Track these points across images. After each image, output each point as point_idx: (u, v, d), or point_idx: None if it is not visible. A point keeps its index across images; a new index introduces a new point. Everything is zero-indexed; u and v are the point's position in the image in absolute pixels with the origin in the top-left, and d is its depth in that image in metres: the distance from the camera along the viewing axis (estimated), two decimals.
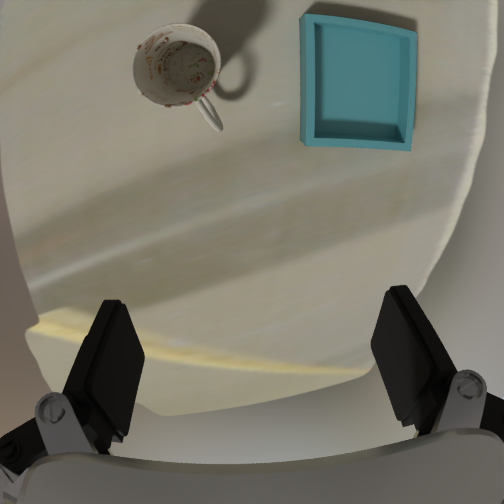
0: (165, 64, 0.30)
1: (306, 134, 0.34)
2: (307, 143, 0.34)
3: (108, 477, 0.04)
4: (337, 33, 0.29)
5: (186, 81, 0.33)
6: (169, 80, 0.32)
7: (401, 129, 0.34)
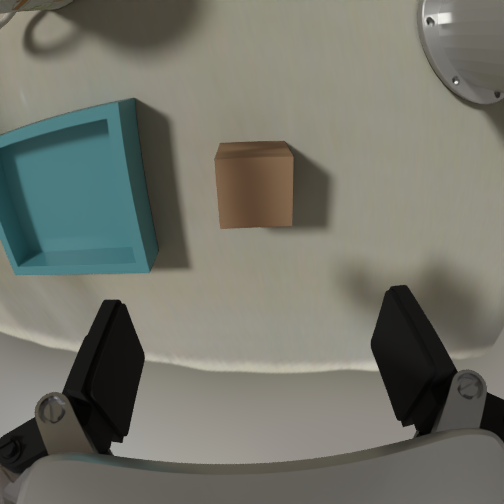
0: None
1: None
2: None
3: (108, 477, 0.04)
4: None
5: None
6: None
7: (33, 259, 0.26)
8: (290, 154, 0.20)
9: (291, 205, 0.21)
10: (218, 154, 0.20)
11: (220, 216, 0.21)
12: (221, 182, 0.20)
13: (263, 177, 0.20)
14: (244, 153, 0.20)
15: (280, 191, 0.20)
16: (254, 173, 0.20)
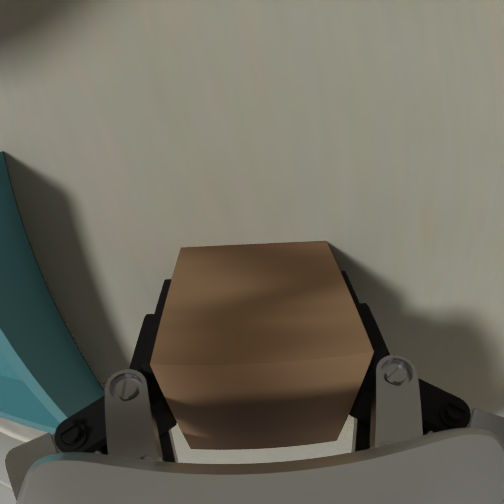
0: None
1: None
2: None
3: (108, 477, 0.04)
4: None
5: None
6: None
7: None
8: (362, 334, 0.07)
9: (343, 421, 0.08)
10: (165, 324, 0.07)
11: (187, 438, 0.08)
12: (179, 401, 0.07)
13: (287, 393, 0.07)
14: (235, 326, 0.07)
15: (325, 408, 0.08)
16: (263, 389, 0.07)
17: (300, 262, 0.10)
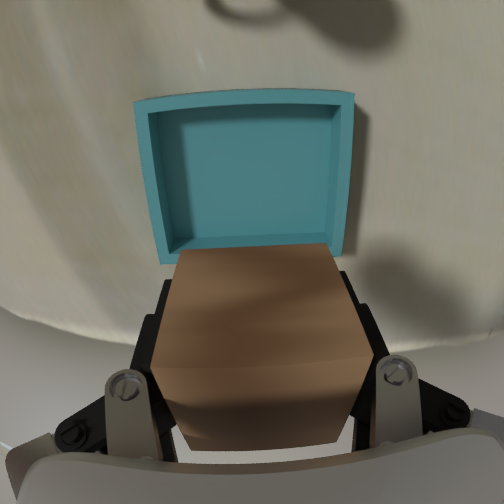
0: None
1: (151, 100, 0.20)
2: (137, 104, 0.20)
3: (108, 477, 0.04)
4: (322, 142, 0.24)
5: None
6: None
7: (188, 245, 0.28)
8: (362, 337, 0.07)
9: (343, 423, 0.08)
10: (165, 327, 0.07)
11: (188, 440, 0.08)
12: (179, 403, 0.07)
13: (287, 396, 0.07)
14: (235, 329, 0.07)
15: (324, 410, 0.08)
16: (263, 392, 0.07)
17: (300, 264, 0.10)
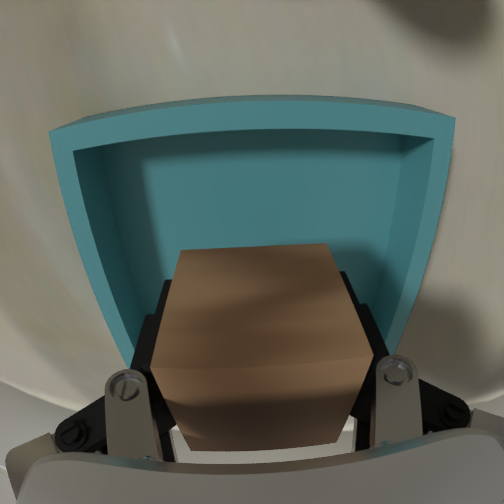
0: None
1: (77, 126, 0.10)
2: (55, 134, 0.10)
3: (108, 477, 0.04)
4: (384, 192, 0.14)
5: None
6: None
7: None
8: (362, 337, 0.07)
9: (343, 423, 0.08)
10: (165, 327, 0.07)
11: (187, 440, 0.08)
12: (180, 404, 0.07)
13: (287, 396, 0.07)
14: (235, 329, 0.07)
15: (324, 410, 0.08)
16: (263, 392, 0.07)
17: (300, 265, 0.10)
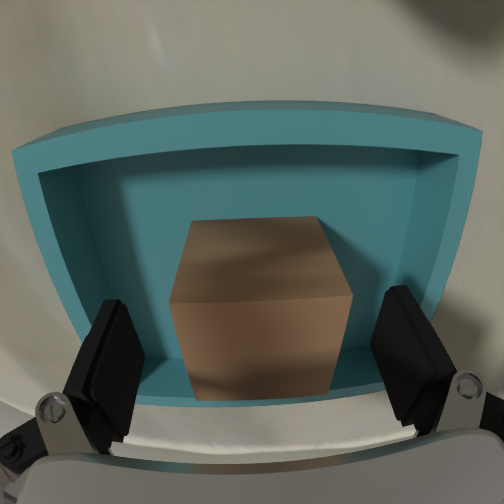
0: None
1: (41, 144, 0.08)
2: (18, 153, 0.08)
3: (108, 477, 0.04)
4: (396, 213, 0.12)
5: None
6: None
7: (158, 377, 0.16)
8: (344, 282, 0.09)
9: (332, 370, 0.10)
10: (181, 275, 0.09)
11: (194, 387, 0.10)
12: (190, 343, 0.09)
13: (282, 334, 0.09)
14: (239, 275, 0.09)
15: (314, 353, 0.09)
16: (262, 328, 0.09)
17: (293, 231, 0.11)
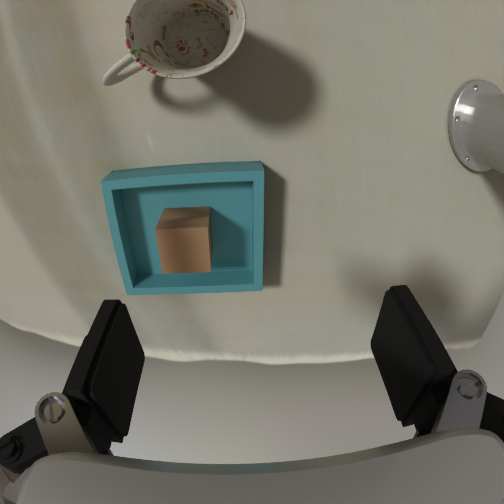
0: (203, 11, 0.22)
1: (113, 180, 0.28)
2: (103, 182, 0.28)
3: (108, 477, 0.04)
4: (244, 204, 0.33)
5: (178, 35, 0.24)
6: (181, 16, 0.22)
7: (147, 281, 0.36)
8: (206, 224, 0.29)
9: (209, 258, 0.30)
10: (159, 223, 0.29)
11: (161, 265, 0.30)
12: (160, 244, 0.29)
13: (188, 240, 0.29)
14: (176, 223, 0.29)
15: (200, 249, 0.30)
16: (182, 238, 0.29)
17: (198, 211, 0.32)
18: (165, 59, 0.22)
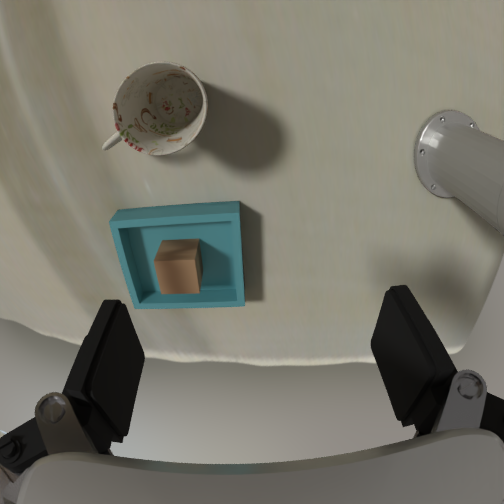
0: (181, 76, 0.29)
1: (119, 221, 0.35)
2: (111, 222, 0.35)
3: (108, 477, 0.04)
4: (227, 236, 0.40)
5: (163, 97, 0.31)
6: (164, 81, 0.29)
7: (151, 297, 0.43)
8: (194, 257, 0.36)
9: (197, 283, 0.38)
10: (157, 255, 0.37)
11: (160, 288, 0.38)
12: (158, 272, 0.37)
13: (180, 269, 0.37)
14: (170, 255, 0.37)
15: (190, 276, 0.37)
16: (175, 267, 0.36)
17: (189, 243, 0.39)
18: (152, 125, 0.29)
